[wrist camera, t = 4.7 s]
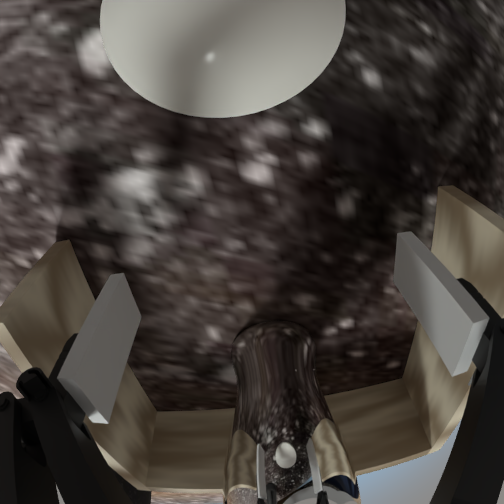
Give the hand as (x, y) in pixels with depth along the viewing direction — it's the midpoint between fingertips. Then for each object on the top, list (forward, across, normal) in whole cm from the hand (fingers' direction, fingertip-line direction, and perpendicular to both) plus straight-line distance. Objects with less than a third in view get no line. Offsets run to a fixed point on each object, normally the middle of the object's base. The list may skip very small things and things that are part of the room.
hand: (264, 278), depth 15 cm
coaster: (+4, 0, +13) cm, 14 cm away
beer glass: (+4, 0, -9) cm, 10 cm away
